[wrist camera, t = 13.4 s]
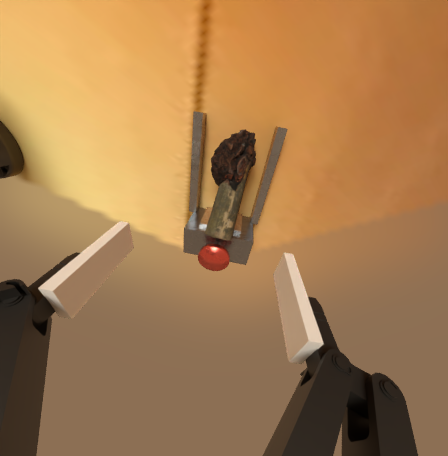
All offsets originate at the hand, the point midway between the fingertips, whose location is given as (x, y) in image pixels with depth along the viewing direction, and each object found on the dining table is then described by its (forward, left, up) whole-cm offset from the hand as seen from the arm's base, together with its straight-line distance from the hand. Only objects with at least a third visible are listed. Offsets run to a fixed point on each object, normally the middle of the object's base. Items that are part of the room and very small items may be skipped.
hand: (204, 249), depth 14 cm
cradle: (0, -3, -23) cm, 23 cm away
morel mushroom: (+1, -1, -19) cm, 19 cm away
